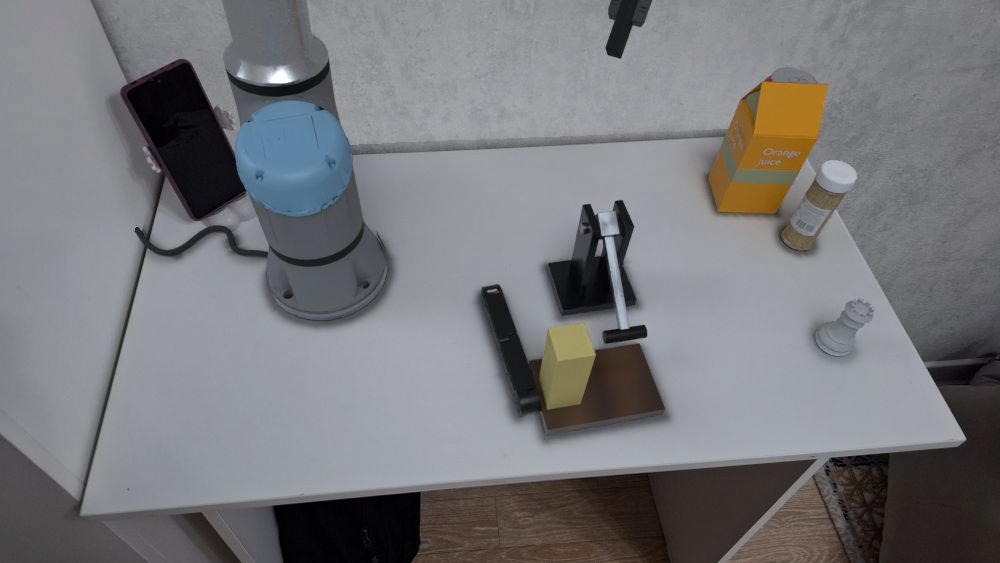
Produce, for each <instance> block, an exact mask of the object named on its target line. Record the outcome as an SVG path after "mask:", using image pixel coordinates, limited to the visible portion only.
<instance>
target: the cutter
mask: <svg viewBox="0 0 1000 563" xmlns="http://www.w3.org/2000/svg"><path fill="white" fill-rule="evenodd" d="M611 211H616V217H617V222H618V228H619V233H620V234H619V235H617V236H615V237H614V243H615V248H616V254H617V260H618V265H619V271H620V277H621V282H622V288H623V293H624V299H625V305H626V307H632V306H635V305H636V303H637V297H636V294H635V292H634V289H633V287H632V284H631V281H630V280H629V277H628V275H627V272H626V270H625V267H624V261H625V258H626V254H627V252H628V248H629V245H630V242H631V239H632V236H633V232H634V228H635V224H634V221H633V220H632V218H631V215H630V213H629V211H628V208H627V206H626V204H625V201H624V200H623V199H618V200H614V204H613V207H612V210H611ZM595 215H596V214H595V211H594V209H593V206H592V204H591V203H585V204H582V206H581V212H580V216H579V221H578V225H577V230H576V236H575V239H574V240H575V241H574V246H573V251H572V256H571V259H568V260H567V259H565V260H560V261H559V260H558V261H552V262H547V265H546V270H547V273H548V276H549V279H550V283H551V286H552V289H553V292H554V295H555V299H556V301H557V306H558V308H559V311H560V314H561V316H562V317H563V316H570V315H577V314H583V313H585V314H586V313H591V312H598V311H604V310H610V309H614V303H613V298H612V292H611V286H610V281H609V275H608V269H607V263H606V258H605V252H604V246H603V245H602V249H601V251H600V252H601V253H600V255H597V256H596V253H597V249H598V246H599V242H600V240H599V238H600V234H601V229H600V226H599V224H598V221H597V219H596V216H595Z"/></svg>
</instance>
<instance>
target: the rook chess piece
mask: <svg viewBox="0 0 1000 563" xmlns="http://www.w3.org/2000/svg"><path fill="white" fill-rule="evenodd" d="M871 305H872V303H871V302H870V301H869V300H867V301H866V302H864V298H862V297H861V298H860V297H859V298H858V299H857V298H855V299H853V300H848V301H847V302H846V303H845V305H844V309H843V310H842V311H841V313H840V316H839V317H838V318H837V319H836V320H832V321H830V322H825V323H824V324H823V325H821V326H820V327H819V328H818V329H817V330H816V332H815V335H814V338H815V342H816V344H817V345H818V348H819V349H820V350H822V351H823V353H826V354H828V355H829V356H835V357H843V356H844V357H845V356H846V355H848V354H849V353H850V352H851V351H852V349H854V346H855V343H856V334H857V333H858V330H859V329H862V328H863V327H865V324H867V323H870V322H872V321H873V319H874V312H875V307H874V306H871Z"/></svg>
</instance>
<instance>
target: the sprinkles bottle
mask: <svg viewBox="0 0 1000 563" xmlns="http://www.w3.org/2000/svg"><path fill="white" fill-rule="evenodd" d="M857 180H858V172H857V171H856V170H855V168H854V167H853V166H852V165H850V164H848V163H847V162H845V161H843V160H842V161H841V160H837V159H830V160H825V161H824V162H822V164H821V165H820V167H819V168H818V170H817V171H816V173H815V175H814V179H813V181H812V183H811V184H810V186H809V188H808V189H807V190H806V192H805V194H804V195H803V197H802V199H801V200H800V202H799V203H798V205H797V207H796V209H795V210H794V211H793V214H792V215H791V217H790V220H789V221H788V223H787V225H786V226H785V228H783V229H782V231H781V233H780V236H781V240H782V241H783V242H784V244H785V245H786V246H787V247H789V248H790V249H793V250H796V251H801V252H802V251H808V250H810V249H811V248H812V247H813V246H814V244H815V241H816V240H817V238H818V237H819V235H820V234H821V233H822V232H823V231H824V228H825V227H826V226H827V224H828V222H829V221H830V220H831V219H832V216H833V214H834V212H836V209H837V208H838V206H839V205H840V203H841V202H842V200H843V199H844V198H845V196H846V194H847V193H849V191H850V190H852V188H853V187H854V185H855V183H856V181H857Z"/></svg>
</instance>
